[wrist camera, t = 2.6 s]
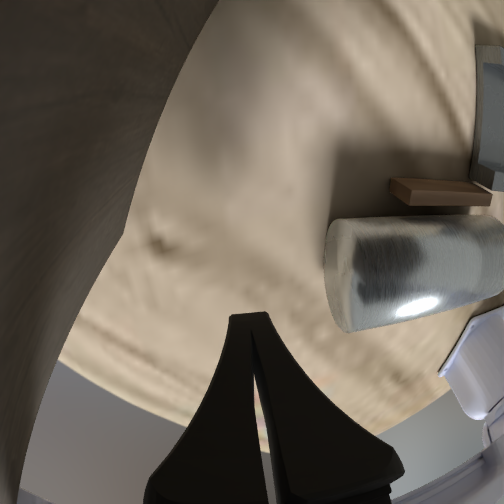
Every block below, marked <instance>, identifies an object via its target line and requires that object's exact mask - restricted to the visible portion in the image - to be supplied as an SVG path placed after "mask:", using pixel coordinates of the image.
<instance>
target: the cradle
mask: <svg viewBox="0 0 504 504" xmlns="http://www.w3.org/2000/svg"><path fill="white" fill-rule="evenodd" d="M475 49H476V64H477V109H476V125H475V137H474V146H473V154H472V161H471V168H470V174H469V178H470V179H472V180H474V181H476V182H477V183H479V184H481V185H483V186H485V187H486V188H488V189H490V190H492V191H501V192H504V48H502V47H501V46H491V45H475Z"/></svg>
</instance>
